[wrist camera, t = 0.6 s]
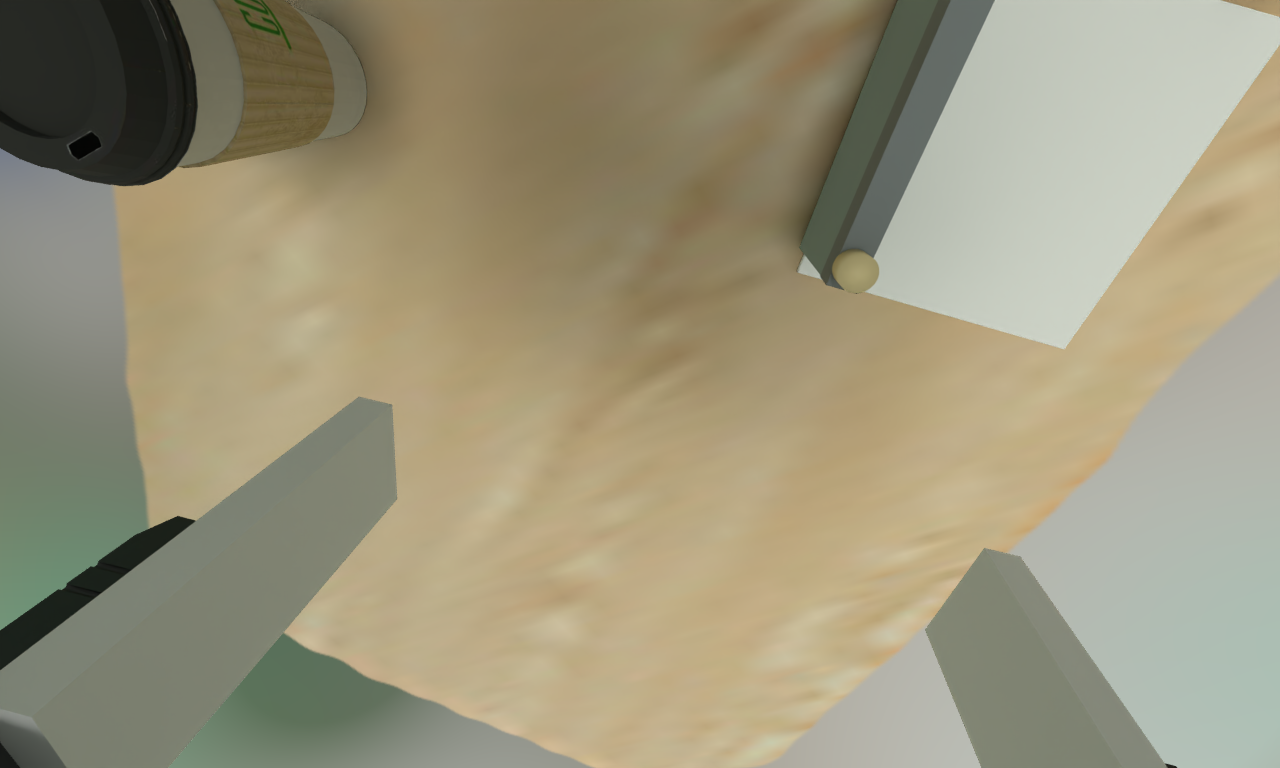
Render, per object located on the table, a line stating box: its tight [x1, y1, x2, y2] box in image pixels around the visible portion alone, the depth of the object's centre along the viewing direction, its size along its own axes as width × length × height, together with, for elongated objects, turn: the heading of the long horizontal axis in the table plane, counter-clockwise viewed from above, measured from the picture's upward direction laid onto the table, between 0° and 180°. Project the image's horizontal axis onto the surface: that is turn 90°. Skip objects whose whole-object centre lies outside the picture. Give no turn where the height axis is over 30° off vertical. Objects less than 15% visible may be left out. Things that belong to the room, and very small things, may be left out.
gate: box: [799, 0, 995, 294], centre depth 22 cm, size 16×2×10 cm, turn 166°
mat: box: [797, 0, 1280, 349], centre depth 27 cm, size 17×17×1 cm
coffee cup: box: [0, 0, 367, 186], centre depth 23 cm, size 10×10×15 cm
